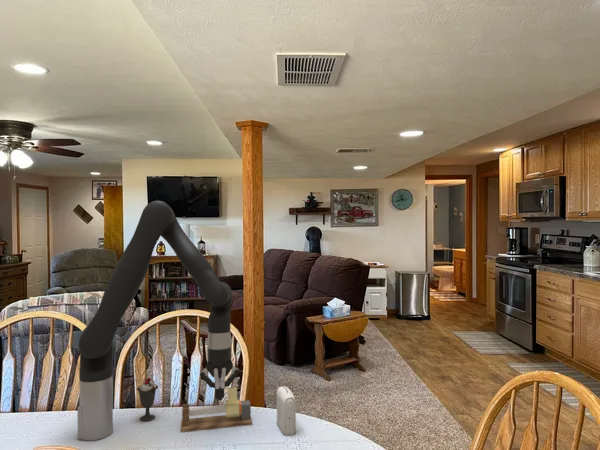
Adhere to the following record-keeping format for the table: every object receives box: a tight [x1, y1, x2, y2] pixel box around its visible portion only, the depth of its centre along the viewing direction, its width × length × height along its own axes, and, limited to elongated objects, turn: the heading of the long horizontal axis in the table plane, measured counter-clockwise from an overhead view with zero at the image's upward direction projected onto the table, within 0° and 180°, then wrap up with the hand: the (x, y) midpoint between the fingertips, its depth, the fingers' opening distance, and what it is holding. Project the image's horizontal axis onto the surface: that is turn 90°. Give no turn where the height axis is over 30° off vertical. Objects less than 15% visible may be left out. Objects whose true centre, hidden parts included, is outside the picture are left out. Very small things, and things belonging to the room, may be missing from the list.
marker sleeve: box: [225, 386, 240, 417], centre depth 143 cm, size 4×4×8 cm
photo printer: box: [276, 385, 297, 436], centre depth 138 cm, size 10×4×12 cm, turn 17°
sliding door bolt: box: [189, 399, 252, 420], centre depth 142 cm, size 21×4×5 cm, turn 103°
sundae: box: [136, 374, 159, 422], centre depth 147 cm, size 7×7×15 cm
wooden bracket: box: [180, 403, 253, 433], centre depth 142 cm, size 22×7×6 cm, turn 103°
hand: (219, 399), depth 142 cm, fingers closed
